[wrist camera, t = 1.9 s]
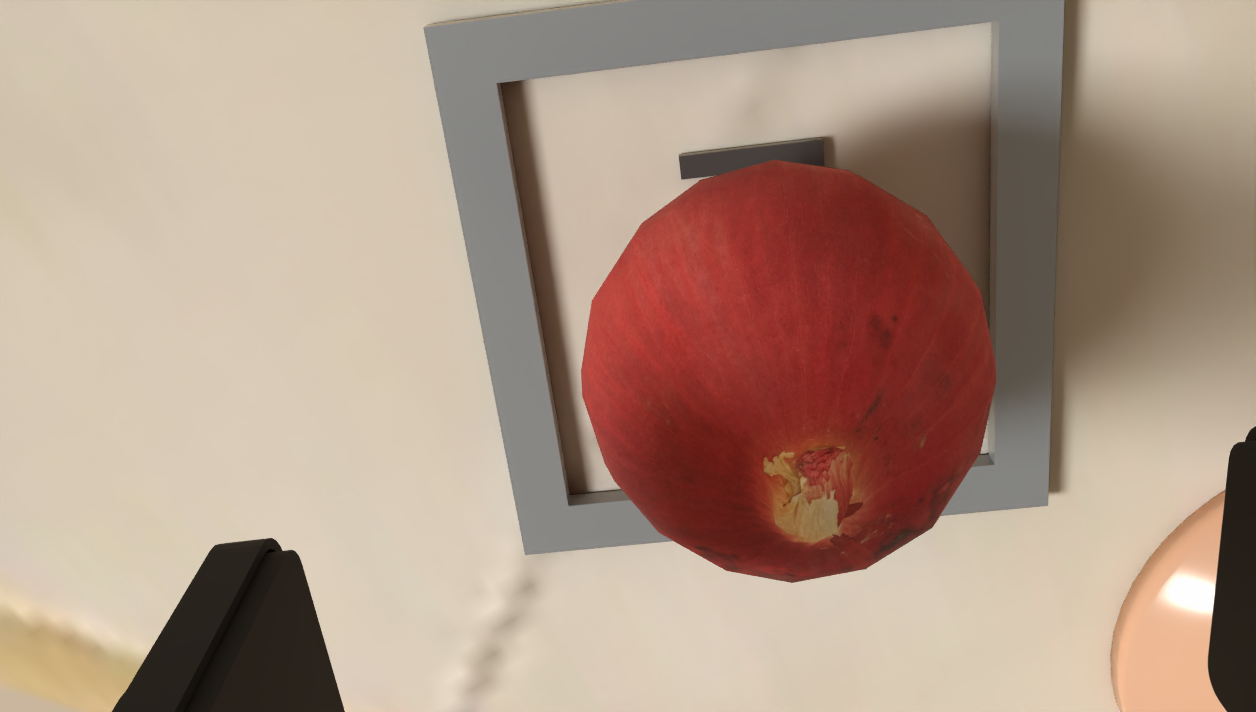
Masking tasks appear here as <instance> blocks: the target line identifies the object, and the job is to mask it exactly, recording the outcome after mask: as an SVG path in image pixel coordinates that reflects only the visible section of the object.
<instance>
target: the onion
mask: <svg viewBox="0 0 1256 712" xmlns="http://www.w3.org/2000/svg"><path fill="white" fill-rule="evenodd" d="M581 378H582V396H583V399H584V402H585V405H586V408H587V411H588V414H589V417H590V420H591V423H592V426H593V429H594V432H595V435H596V438H597V441H598V444H599V447H600V450H601V453H602V456H603V459H604V462H605V465H606V466H607V468H608V470H609V472H610V474H611V475H612V477H613V479H614V481H615V482H616V483H617V484H618V486H619V487H620V488H621V489H622V490H623V491H624V493H625V494H626V495H627V496H628V497H629V499H630V500H631V501H632V502H633V503H634V504H635V506H636V507H637V508H638V509H639V510H640V511H641V513H642V514H643V515H644V516H645V517H646V518H647V520H648V521H649V522H650V523H651V524H652V525H653V527H654V528H655V529H656V530H657V531H658V533H660V534H662V535H664V536H666V537H667V538H669V539H671V540H673V541H674V542H676V543H678V544H680V545H682V546H683V547H685V548H687V549H689V550H691V551H692V552H694V553H696V554H698V555H699V556H701V557H703V558H705V559H707V560H708V561H710V562H712V563H714V564H716V565H717V566H719V567H721V568H723V569H724V570H726V571H731V572H736V573H742V574H747V575H753V576H758V577H764V578H769V579H775V580H780V581H786V582H791V583H793V582H798V581H804V580H809V579H815V578H820V577H825V576H831V575H836V574H841V573H847V572H852V571H857V570H863V569H866V568H868V567H869V566H871V565H873V564H874V563H876V562H878V561H879V560H881V559H882V558H884V557H886V556H887V555H889V554H891V553H892V552H894V551H895V550H897V549H899V548H900V547H902V546H903V545H905V544H907V543H908V542H910V541H912V540H913V539H915V538H916V537H918V536H920V535H921V534H923V533H925V532H926V531H928V530H929V529H931V528H932V527H933V526H934V524H935V523H936V521H937V520H938V518H939V516H940V515H941V513H942V512H943V510H944V509H945V507H946V506H947V504H948V502H949V501H950V499H951V498H952V496H953V495H954V493H955V492H956V490H957V488H958V487H959V485H960V484H961V482H962V481H963V479H964V478H965V476H966V474H967V473H968V471H969V470H970V468H971V467H972V465H973V464H974V462H975V460H976V459H977V457H978V456H979V454H980V452H981V447H982V443H983V438H984V434H985V429H986V425H987V420H988V416H989V411H990V407H991V402H992V398H993V393H994V389H995V384H996V362H995V357H994V352H993V348H992V343H991V338H990V333H989V329H988V324H987V319H986V314H985V309H984V305H983V300H982V295H981V291H980V290H979V288H978V287H977V285H976V284H975V282H974V281H973V279H972V277H971V276H970V274H969V273H968V271H967V270H966V269H965V267H964V266H963V265H962V263H961V262H960V260H959V259H958V258H957V256H956V255H955V254H954V252H953V251H952V250H951V248H950V247H949V245H948V244H947V243H946V241H945V240H944V239H943V237H942V236H941V235H940V233H939V232H938V231H937V229H936V228H935V226H934V225H933V224H932V222H931V221H930V220H929V218H928V217H927V216H926V215H925V214H923V213H921V212H920V211H918V210H916V209H914V208H913V207H911V206H909V205H908V204H906V203H904V202H903V201H901V200H899V199H898V198H896V197H894V196H892V195H891V194H889V193H887V192H886V191H884V190H882V189H881V188H879V187H877V186H876V185H874V184H872V183H871V182H869V181H867V180H865V179H864V178H862V177H860V176H858V175H856V174H854V173H852V172H850V171H848V170H842V169H835V168H828V167H821V166H814V165H807V164H800V163H793V162H786V161H779V160H771V161H768V162H764V163H760V164H757V165H753V166H750V167H746V168H742V169H739V170H735V171H731V172H728V173H724V174H721V175H717V176H713V177H710V178H706V179H703V180H700V181H699V182H697V183H696V184H695V185H693V186H692V187H691V188H689V189H688V190H686V191H685V192H684V193H682V194H681V195H680V196H678V197H677V198H676V199H674V200H673V201H671V202H670V203H669V204H667V205H666V206H665V207H663V208H662V209H661V210H659V211H658V212H657V213H655V214H654V215H652V216H651V217H650V218H648V219H647V220H646V221H644V222H643V223H642V224H641V225H640V227H639V228H638V230H637V232H636V233H635V235H634V236H633V238H632V239H631V241H630V242H629V244H628V245H627V247H626V249H625V250H624V252H623V253H622V255H621V256H620V258H619V259H618V261H617V263H616V264H615V266H614V267H613V269H612V270H611V272H610V273H609V275H608V277H607V278H606V280H605V281H604V283H603V284H602V286H601V287H600V289H599V291H598V292H597V294H596V295H595V297H594V298H593V300H592V304H591V311H590V317H589V324H588V330H587V337H586V343H585V350H584V356H583V363H582V369H581Z"/></svg>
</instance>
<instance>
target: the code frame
mask: <svg viewBox="0 0 1256 712" xmlns="http://www.w3.org/2000/svg"><path fill="white" fill-rule="evenodd" d="M986 22H992V59H991V194H990V328H989V333H990V338H991V343H992V348H993V352H994V357H995V362H996V384H995V389H994V393H993V398H992V402H991V407H990V411H989V454H987V455H979V456H978V457H977V459H976V460H975V462H974V464H973V465H972V467H971V468H970V470H969V471H968V473H967V474H966V476H965V478H964V479H963V481H962V482H961V484H960V485H959V487H958V488H957V490H956V492H955V493H954V495H953V496H952V498H951V499H950V501H949V502H948V504H947V506H946V507H945V509H944V510H943V512H942V513H941V515H940V516H944V515H954V514H965V513H976V512H986V511H997V510H1007V509H1018V508H1029V507H1039V506H1048V488H1049V458H1050V427H1051V397H1052V366H1053V336H1054V305H1055V275H1056V244H1057V214H1058V183H1059V153H1060V122H1061V91H1062V61H1063V30H1064V0H613V1H605V2H598V3H590V4H582V5H574V6H567V7H559V8H551V9H543V10H535V11H528V12H520V13H512V14H504V15H497V16H489V17H481V18H473V19H465V20H458V21H450V22H442V23H434V24H428V25H426V26H425V27H424V33H425V38H426V43H427V48H428V53H429V59H430V64H431V69H432V74H433V79H434V84H435V90H436V95H437V100H438V105H439V110H440V116H441V121H442V126H443V131H444V136H445V142H446V147H447V152H448V157H449V162H450V167H451V173H452V178H453V183H454V188H455V193H456V199H457V204H458V209H459V214H460V219H461V225H462V230H463V235H464V240H465V245H466V250H467V256H468V261H469V266H470V271H471V276H472V282H473V287H474V292H475V297H476V302H477V307H478V313H479V318H480V323H481V328H482V333H483V339H484V344H485V349H486V354H487V359H488V365H489V370H490V375H491V380H492V385H493V390H494V396H495V401H496V406H497V411H498V416H499V422H500V427H501V432H502V437H503V442H504V448H505V453H506V458H507V463H508V468H509V473H510V479H511V484H512V489H513V494H514V499H515V505H516V510H517V515H518V520H519V525H520V530H521V536H522V541H523V546H524V551H525V555H530V554H540V553H551V552H561V551H572V550H583V549H593V548H604V547H614V546H625V545H636V544H646V543H657V542H668V541H673V540H671V539H669V538H667V537H666V536H664V535H662V534H660V533H658V531H657V530H656V529H655V528H654V527H653V525H652V524H651V523H650V522H649V521H648V520H647V518H646V517H645V516H644V515H643V514H642V513H641V511H640V510H639V509H638V508H637V507H636V506H635V504H634V503H633V502H632V501H631V500H630V499H629V497H628V496H627V495H626V494H625V493H624V491H623V490H618V491H608V492H598V493H588V494H577V495H570V493H569V487H568V481H567V475H566V469H565V463H564V457H563V451H562V445H561V440H560V434H559V428H558V422H557V416H556V410H555V404H554V398H553V392H552V386H551V380H550V375H549V369H548V363H547V357H546V351H545V345H544V339H543V333H542V327H541V321H540V315H539V309H538V304H537V298H536V292H535V286H534V280H533V274H532V268H531V262H530V256H529V250H528V244H527V239H526V233H525V227H524V221H523V215H522V209H521V203H520V197H519V191H518V185H517V179H516V173H515V168H514V162H513V156H512V150H511V144H510V138H509V132H508V126H507V120H506V114H505V108H504V103H503V97H502V91H501V85H500V83H503V82H511V81H519V80H527V79H535V78H543V77H551V76H560V75H568V74H576V73H584V72H592V71H600V70H608V69H616V68H624V67H632V66H640V65H648V64H656V63H664V62H672V61H680V60H688V59H696V58H704V57H712V56H720V55H729V54H737V53H745V52H753V51H761V50H769V49H777V48H785V47H793V46H801V45H809V44H817V43H825V42H833V41H841V40H849V39H857V38H865V37H873V36H881V35H889V34H898V33H906V32H914V31H922V30H930V29H938V28H946V27H954V26H962V25H970V24H978V23H986ZM771 160H779V161H786V162H793V163H800V164H807V165H814V166H821V167H824V155H823V139H822V138H821V137H820V138H812V139H803V140H795V141H786V142H778V143H769V144H761V145H752V146H744V147H736V148H727V149H719V150H710V151H702V152H693V153H685V154H679V161H680V171H681V180H682V179H690V178H699V177H707V176H716V175H721V174H724V173H728V172H731V171H735V170H739V169H742V168H746V167H750V166H753V165H757V164H760V163H764V162H768V161H771Z"/></svg>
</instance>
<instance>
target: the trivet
mask: <svg viewBox="0 0 1256 712" xmlns="http://www.w3.org/2000/svg"><path fill="white" fill-rule="evenodd" d="M1225 491H1226V490H1225ZM1225 491H1224V492H1222V493H1220V494H1219V495H1217V496H1216V497H1214V498H1213V499H1211V500H1210V501H1209V502H1207V503H1206V504H1205V505H1203V506H1202V507H1201V508H1200V509H1198V510H1197V511H1196V512H1194V513H1193V514H1192V515H1190V516H1189V517H1188V518H1187V519H1186V520H1185V521H1184V522H1183V523H1182V524H1181V525H1180V526H1179V527H1177V528H1176V529H1175V530H1174V531H1173V532H1172V533H1171V534H1170V535H1169V536H1168V537H1167V538H1166V539H1165V540H1164V542H1163V543H1162V544H1161V545H1160V546H1159V548H1158V549H1157V550H1156V551H1155V552H1154V553H1153V555H1152V556H1151V557H1150V558H1149V559H1148V561H1147V562H1146V564H1145V565H1144V567H1143V568H1142V570H1141V572H1140V573H1139V575H1138V576H1137V578H1136V579H1135V581H1134V582H1133V584H1132V586H1131V588H1130V590H1129V592H1128V594H1127V596H1126V599H1125V601H1124V603H1123V605H1122V607H1121V610H1120V613H1119V616H1118V620H1117V623H1116V626H1115V629H1114V634H1113V641H1112V648H1111V654H1110V657H1111V680H1112V685H1113V690H1114V695H1115V700H1116V702H1117V705H1118V707H1119V710H1120V712H1227V711H1226V710H1225V708H1224V707H1223V706H1222V704H1221V703H1220V701H1219V700H1218V698H1217V696H1216V695H1215V693H1214V690H1213V688H1212V685H1211V682H1210V678H1209V673H1208V651H1209V642H1210V633H1211V623H1212V614H1213V604H1214V595H1215V585H1216V576H1217V567H1218V557H1219V548H1220V538H1221V529H1222V520H1223V510H1224V501H1225Z"/></svg>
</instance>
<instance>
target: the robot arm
mask: <svg viewBox="0 0 1256 712" xmlns="http://www.w3.org/2000/svg"><path fill="white" fill-rule="evenodd" d="M1208 673H1209V678H1210V682H1211V685H1212V688H1213V690H1214V693H1215V695H1216V696H1217V698H1218V700H1219V701H1220V703H1221V704H1222V706H1223V707H1224V708H1225V710H1226V711H1227V712H1256V426H1255V427H1254V428H1252V429H1251V430H1250V432H1249V433H1248V435H1247V437H1246V440H1245V442H1239V443H1237V444H1235V445H1234V446H1233V448H1232V450H1231V452H1230V456H1229V463H1228V472H1227V482H1226V491H1225V501H1224V510H1223V520H1222V529H1221V538H1220V548H1219V557H1218V567H1217V576H1216V585H1215V595H1214V604H1213V614H1212V623H1211V633H1210V642H1209V651H1208ZM112 712H345V711H344V708H343V704H342V701H341V697H340V694H339V690H338V687H337V683H336V680H335V676H334V673H333V670H332V666H331V663H330V659H329V656H328V652H327V649H326V645H325V642H324V638H323V635H322V632H321V628H320V625H319V621H318V618H317V614H316V611H315V607H314V604H313V600H312V597H311V594H310V590H309V587H308V583H307V580H306V576H305V573H304V569H303V566H302V563H301V560H300V558H299V556H298V554H297V553H296V552H295V551H293V550H288V551H282V549H281V547H280V545H279V544H278V542H277V541H276V540H274V539H272V538H268V539H259V540H251V541H242V542H233V543H224V544H218V545H215V546H214V547H213V548H212V549H211V550H210V552H209V554H208V555H207V557H206V559H205V560H204V562H203V564H202V565H201V567H200V569H199V570H198V572H197V574H196V575H195V577H194V579H193V580H192V582H191V584H190V585H189V587H188V589H187V590H186V592H185V594H184V595H183V597H182V599H181V600H180V602H179V604H178V605H177V607H176V609H175V610H174V612H173V614H172V615H171V617H170V619H169V620H168V622H167V624H166V625H165V627H164V629H163V630H162V632H161V634H160V635H159V637H158V639H157V640H156V642H155V644H154V645H153V647H152V649H151V650H150V652H149V654H148V655H147V657H146V659H145V660H144V662H143V664H142V665H141V667H140V669H139V670H138V672H137V674H136V675H135V677H134V679H133V680H132V682H131V684H130V685H129V687H128V689H127V690H126V692H125V693H124V694H123V695H122V697H121V698H120V699H119V701H118V702H117V704H116V706H115V707H114V709H113V711H112Z"/></svg>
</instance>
